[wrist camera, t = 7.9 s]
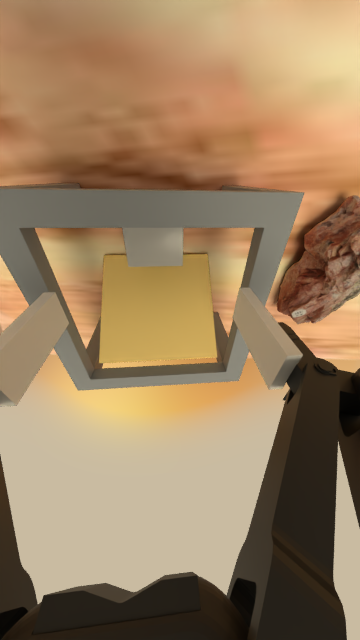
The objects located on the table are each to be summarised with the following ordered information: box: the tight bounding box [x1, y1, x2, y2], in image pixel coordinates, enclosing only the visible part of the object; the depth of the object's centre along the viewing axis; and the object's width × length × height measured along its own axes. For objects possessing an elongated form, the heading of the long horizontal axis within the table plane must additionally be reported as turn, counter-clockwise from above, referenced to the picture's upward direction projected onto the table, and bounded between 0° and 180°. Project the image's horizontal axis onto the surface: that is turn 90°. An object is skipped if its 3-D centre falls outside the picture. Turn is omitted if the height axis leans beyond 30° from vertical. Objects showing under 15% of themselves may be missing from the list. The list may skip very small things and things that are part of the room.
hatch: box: [99, 254, 217, 363], centre depth 24 cm, size 14×14×1 cm
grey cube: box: [122, 228, 183, 267], centre depth 21 cm, size 6×6×6 cm
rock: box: [277, 196, 360, 324], centre depth 24 cm, size 16×11×15 cm
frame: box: [0, 183, 304, 390], centre depth 22 cm, size 20×20×12 cm
